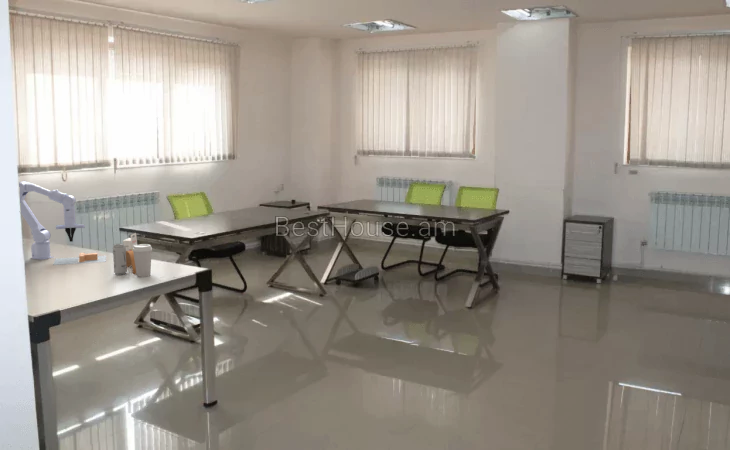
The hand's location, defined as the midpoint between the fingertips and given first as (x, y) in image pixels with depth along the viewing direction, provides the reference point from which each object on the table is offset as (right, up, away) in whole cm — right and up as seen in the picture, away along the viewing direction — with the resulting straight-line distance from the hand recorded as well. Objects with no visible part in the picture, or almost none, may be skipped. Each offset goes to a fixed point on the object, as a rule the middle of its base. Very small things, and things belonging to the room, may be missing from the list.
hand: (71, 241), depth 367 cm
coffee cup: (+54, -16, -40) cm, 69 cm away
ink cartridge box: (+34, -10, -3) cm, 36 cm away
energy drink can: (+41, -16, -36) cm, 57 cm away
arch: (+44, -14, -26) cm, 53 cm away
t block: (+12, -10, -5) cm, 16 cm away
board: (+8, -11, -6) cm, 15 cm away
